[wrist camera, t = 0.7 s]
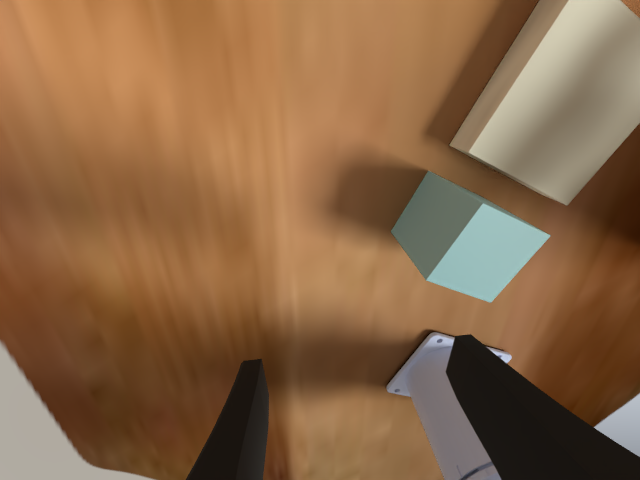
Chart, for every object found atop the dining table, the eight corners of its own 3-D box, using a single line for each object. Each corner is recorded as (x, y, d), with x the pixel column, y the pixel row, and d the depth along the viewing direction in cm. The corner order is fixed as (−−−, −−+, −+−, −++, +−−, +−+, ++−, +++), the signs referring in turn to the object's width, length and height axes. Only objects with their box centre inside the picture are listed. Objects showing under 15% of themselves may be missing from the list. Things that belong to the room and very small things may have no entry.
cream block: (644, 67, 16) (690, 65, 14) (541, 194, 19) (566, 205, 17) (548, -15, 13) (588, -30, 12) (449, 145, 17) (468, 152, 15)
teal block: (482, 196, 19) (550, 235, 14) (442, 251, 20) (490, 302, 16) (428, 170, 17) (483, 203, 13) (390, 231, 19) (426, 280, 14)
